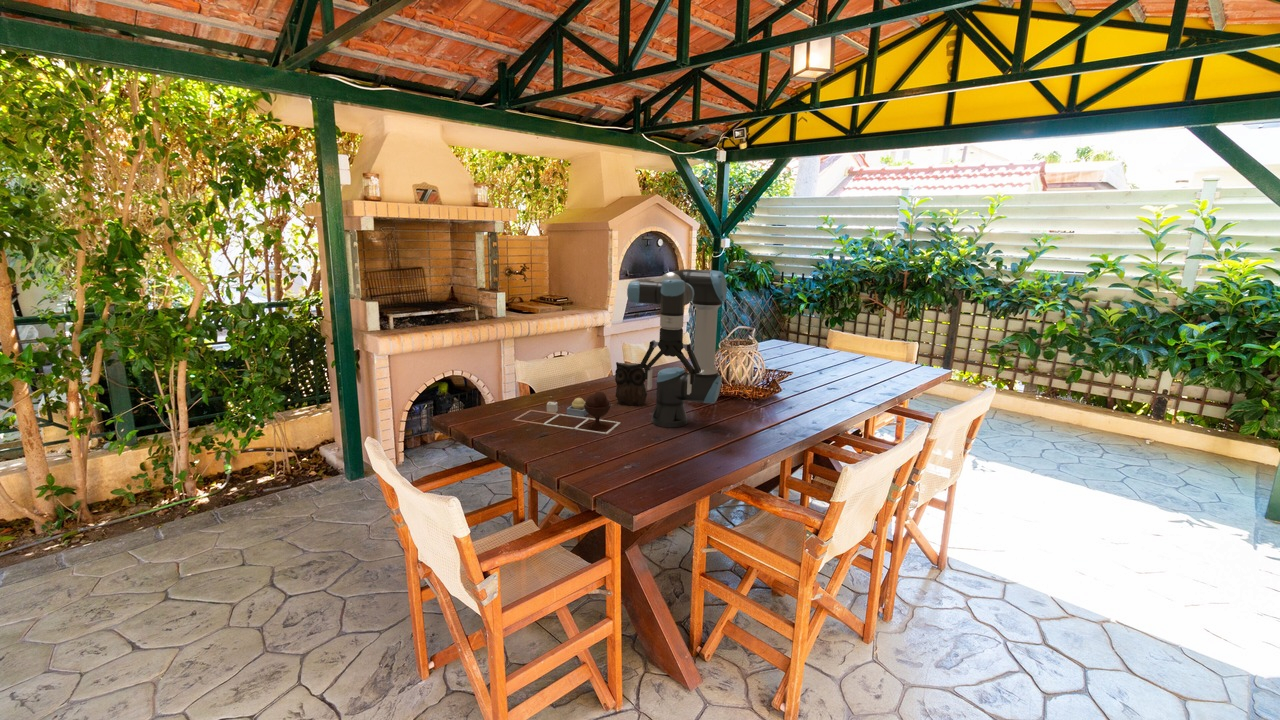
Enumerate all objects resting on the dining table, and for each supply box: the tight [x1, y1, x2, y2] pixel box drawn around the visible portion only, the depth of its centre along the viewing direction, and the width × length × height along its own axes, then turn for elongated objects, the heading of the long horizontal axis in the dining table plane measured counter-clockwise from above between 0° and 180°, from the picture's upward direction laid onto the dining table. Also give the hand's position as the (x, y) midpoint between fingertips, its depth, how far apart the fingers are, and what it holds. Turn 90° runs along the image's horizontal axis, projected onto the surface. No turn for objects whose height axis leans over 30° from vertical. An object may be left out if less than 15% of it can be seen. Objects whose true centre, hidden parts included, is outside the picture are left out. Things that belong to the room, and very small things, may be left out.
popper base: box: [566, 404, 589, 417], centre depth 256 cm, size 8×8×3 cm
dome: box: [571, 397, 586, 410], centre depth 255 cm, size 6×6×5 cm
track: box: [512, 409, 622, 435], centre depth 245 cm, size 15×43×1 cm, turn 71°
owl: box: [614, 361, 648, 407], centre depth 270 cm, size 13×13×20 cm
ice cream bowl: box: [584, 391, 612, 429], centre depth 239 cm, size 11×11×15 cm
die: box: [546, 401, 559, 413], centre depth 258 cm, size 4×4×4 cm
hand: (669, 391), depth 192 cm, fingers open, 13 cm apart
